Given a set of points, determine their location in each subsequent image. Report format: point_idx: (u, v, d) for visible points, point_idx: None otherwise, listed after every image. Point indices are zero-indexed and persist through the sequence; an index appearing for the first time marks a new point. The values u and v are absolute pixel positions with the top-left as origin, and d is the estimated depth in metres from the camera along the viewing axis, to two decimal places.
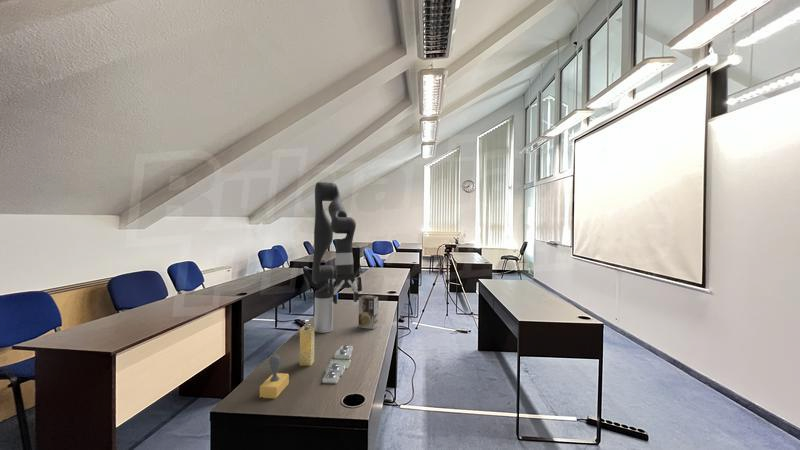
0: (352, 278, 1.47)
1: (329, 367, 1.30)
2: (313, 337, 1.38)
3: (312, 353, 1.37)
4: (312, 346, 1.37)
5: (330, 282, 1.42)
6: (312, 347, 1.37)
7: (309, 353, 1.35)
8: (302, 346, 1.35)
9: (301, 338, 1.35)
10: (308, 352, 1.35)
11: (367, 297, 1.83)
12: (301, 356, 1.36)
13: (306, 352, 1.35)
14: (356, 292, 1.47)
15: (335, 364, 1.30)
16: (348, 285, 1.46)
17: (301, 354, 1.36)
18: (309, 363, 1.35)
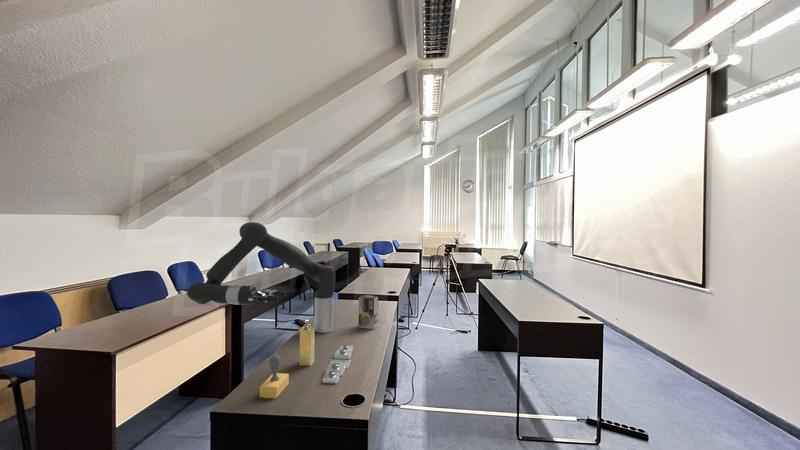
0: None
1: (329, 367, 1.30)
2: (313, 337, 1.38)
3: (312, 353, 1.37)
4: (312, 346, 1.37)
5: None
6: (312, 347, 1.37)
7: (309, 353, 1.35)
8: (302, 346, 1.35)
9: (301, 338, 1.35)
10: (308, 352, 1.35)
11: (367, 297, 1.83)
12: (301, 356, 1.36)
13: (306, 352, 1.35)
14: None
15: (335, 364, 1.30)
16: None
17: (301, 354, 1.36)
18: (309, 363, 1.35)
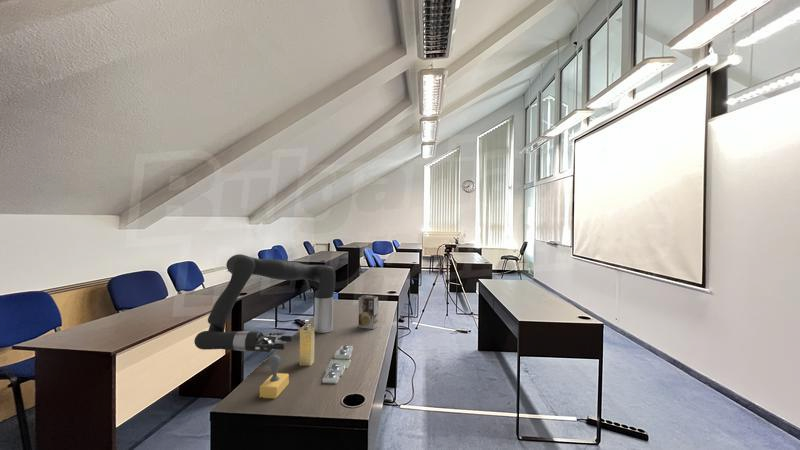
0: None
1: (329, 367, 1.30)
2: (313, 337, 1.38)
3: (312, 353, 1.37)
4: (312, 346, 1.37)
5: None
6: (312, 347, 1.37)
7: (309, 353, 1.35)
8: (302, 346, 1.35)
9: (301, 338, 1.35)
10: (308, 352, 1.35)
11: (367, 297, 1.83)
12: (301, 356, 1.36)
13: (306, 352, 1.35)
14: (273, 349, 1.34)
15: (335, 364, 1.30)
16: None
17: (301, 354, 1.36)
18: (309, 363, 1.35)
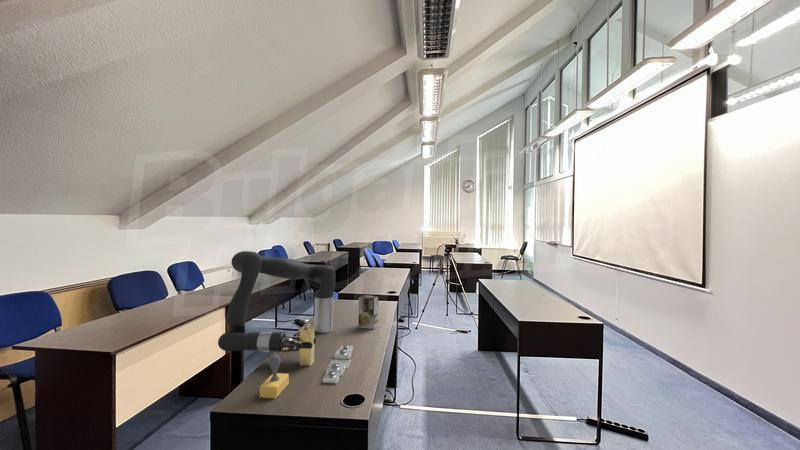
0: None
1: (329, 367, 1.30)
2: (313, 337, 1.38)
3: (312, 353, 1.37)
4: (312, 346, 1.37)
5: None
6: (312, 347, 1.37)
7: (309, 353, 1.35)
8: None
9: (301, 338, 1.35)
10: (308, 352, 1.35)
11: (367, 297, 1.83)
12: (301, 356, 1.36)
13: (306, 352, 1.35)
14: (301, 348, 1.35)
15: (335, 364, 1.30)
16: None
17: (301, 354, 1.36)
18: (309, 363, 1.36)
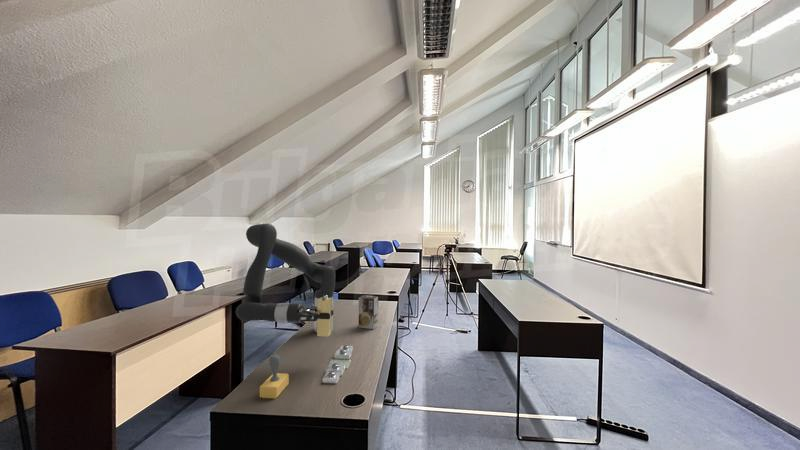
0: None
1: (329, 367, 1.30)
2: (330, 308, 1.38)
3: (329, 324, 1.37)
4: None
5: None
6: None
7: (326, 324, 1.35)
8: None
9: (319, 309, 1.35)
10: (326, 323, 1.35)
11: (367, 297, 1.83)
12: (319, 327, 1.35)
13: (324, 323, 1.35)
14: (319, 319, 1.34)
15: (335, 364, 1.30)
16: None
17: (319, 325, 1.35)
18: (327, 334, 1.35)
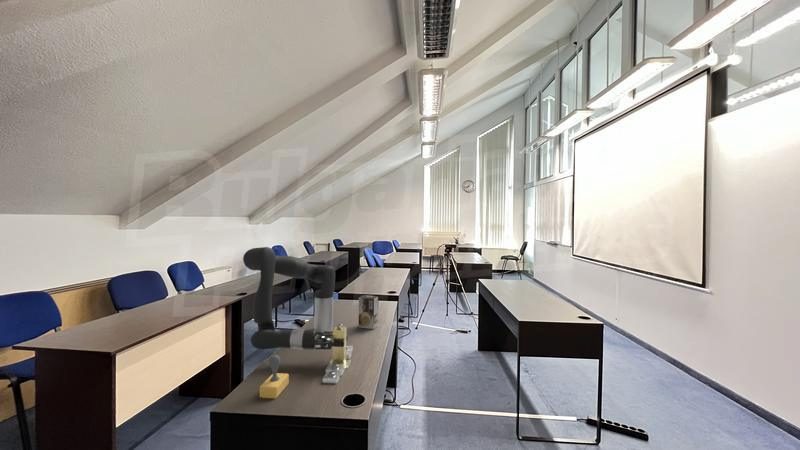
0: None
1: (329, 367, 1.30)
2: (345, 337, 1.38)
3: (344, 353, 1.37)
4: (345, 346, 1.37)
5: None
6: (345, 347, 1.37)
7: (342, 354, 1.35)
8: None
9: (334, 338, 1.35)
10: (341, 352, 1.35)
11: (367, 297, 1.83)
12: (334, 356, 1.35)
13: (339, 352, 1.35)
14: (333, 346, 1.33)
15: (335, 364, 1.30)
16: None
17: (334, 354, 1.35)
18: (342, 363, 1.35)
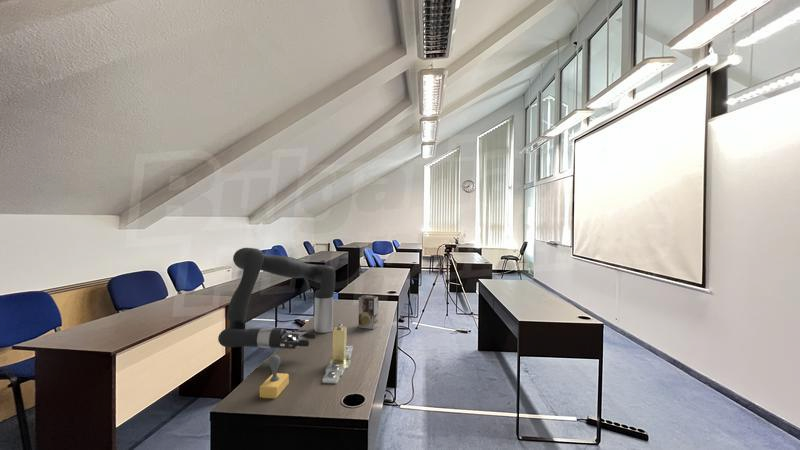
0: None
1: (329, 367, 1.30)
2: (345, 337, 1.38)
3: (345, 353, 1.37)
4: (345, 346, 1.37)
5: None
6: (345, 347, 1.37)
7: (342, 354, 1.35)
8: (335, 346, 1.35)
9: (334, 338, 1.35)
10: (341, 352, 1.35)
11: (367, 297, 1.83)
12: (334, 356, 1.35)
13: (339, 352, 1.35)
14: (298, 346, 1.33)
15: (335, 364, 1.30)
16: None
17: (334, 354, 1.35)
18: (342, 363, 1.35)
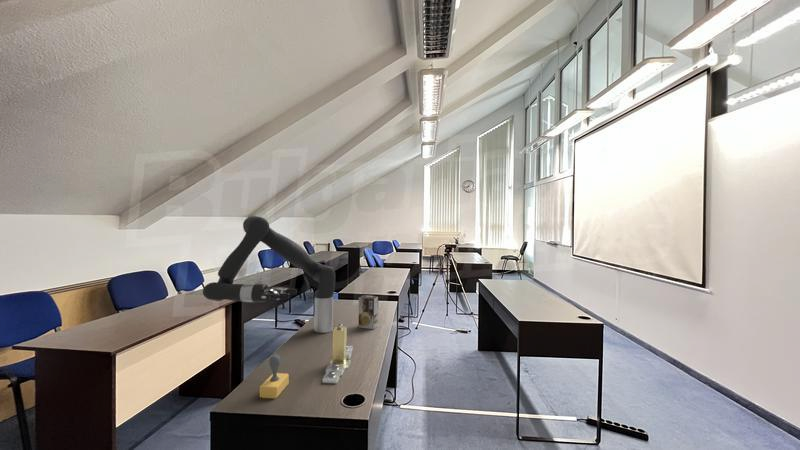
0: None
1: (329, 367, 1.30)
2: (345, 337, 1.38)
3: (345, 353, 1.37)
4: (345, 346, 1.37)
5: None
6: (345, 347, 1.37)
7: (342, 354, 1.35)
8: (335, 346, 1.35)
9: (334, 338, 1.35)
10: (341, 352, 1.35)
11: (367, 297, 1.83)
12: (334, 356, 1.35)
13: (339, 352, 1.35)
14: None
15: (335, 364, 1.30)
16: None
17: (334, 354, 1.35)
18: (342, 363, 1.35)
